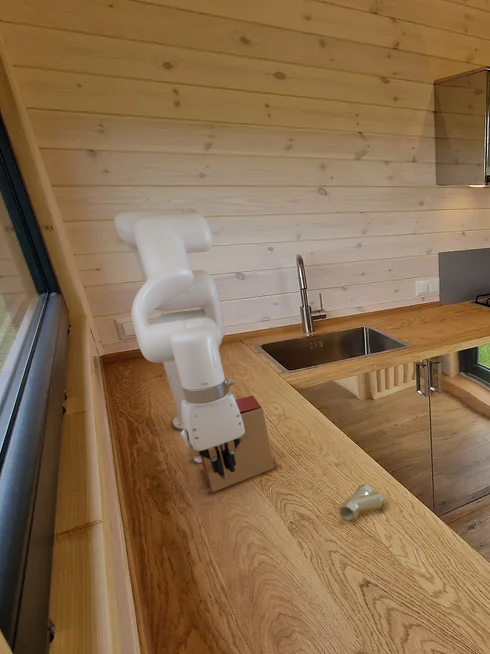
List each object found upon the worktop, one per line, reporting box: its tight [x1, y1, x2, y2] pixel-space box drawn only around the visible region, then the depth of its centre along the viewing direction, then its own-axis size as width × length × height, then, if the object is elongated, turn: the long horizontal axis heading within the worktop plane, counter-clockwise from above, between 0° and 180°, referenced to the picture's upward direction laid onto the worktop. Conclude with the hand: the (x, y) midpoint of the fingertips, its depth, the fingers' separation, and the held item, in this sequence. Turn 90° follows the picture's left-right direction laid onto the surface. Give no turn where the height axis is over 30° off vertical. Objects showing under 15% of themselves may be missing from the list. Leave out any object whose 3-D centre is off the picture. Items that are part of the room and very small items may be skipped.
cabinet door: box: [203, 407, 275, 493], centre depth 107 cm, size 7×14×16 cm, turn 133°
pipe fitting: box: [338, 483, 387, 522], centre depth 100 cm, size 8×4×7 cm
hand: (225, 471), depth 102 cm, fingers closed
